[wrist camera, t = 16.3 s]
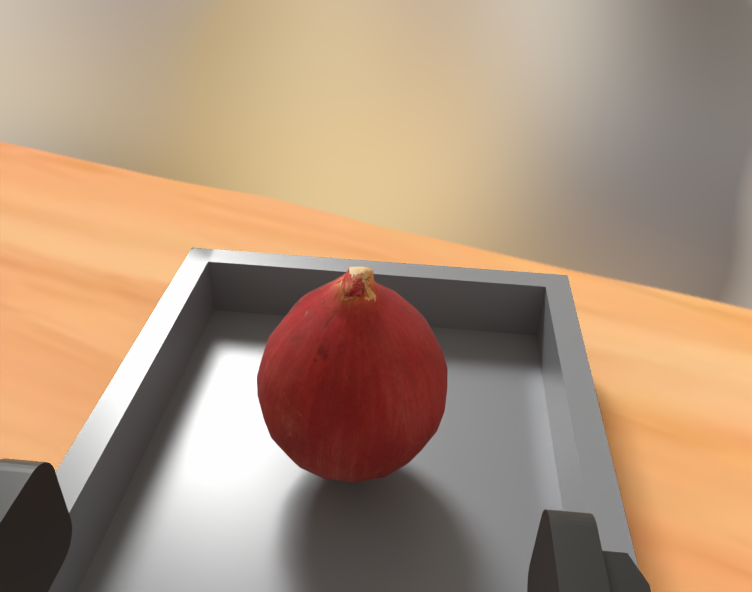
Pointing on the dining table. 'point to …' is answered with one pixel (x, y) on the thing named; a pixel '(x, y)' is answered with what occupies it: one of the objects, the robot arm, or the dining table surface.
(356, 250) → the dining table surface
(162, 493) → the tray
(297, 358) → the onion
